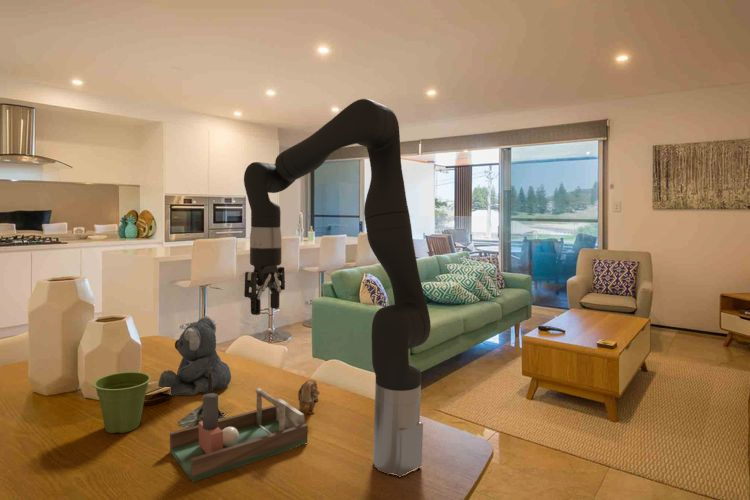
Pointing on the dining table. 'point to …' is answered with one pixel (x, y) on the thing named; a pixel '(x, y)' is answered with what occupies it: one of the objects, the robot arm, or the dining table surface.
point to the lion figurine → (308, 395)
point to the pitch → (242, 439)
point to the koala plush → (197, 361)
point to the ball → (230, 436)
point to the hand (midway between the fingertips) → (265, 311)
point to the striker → (210, 425)
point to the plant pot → (122, 399)
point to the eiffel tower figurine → (198, 411)
